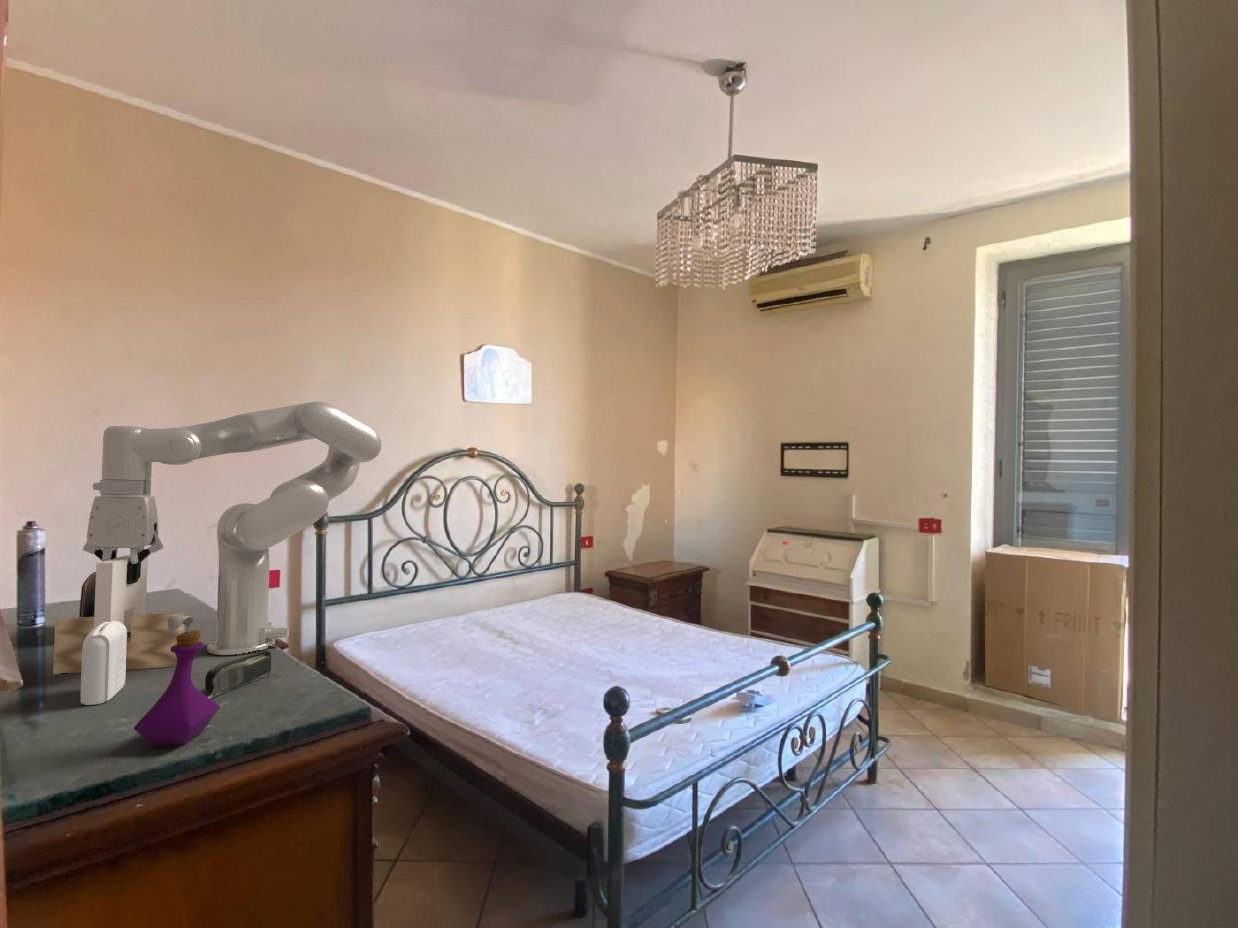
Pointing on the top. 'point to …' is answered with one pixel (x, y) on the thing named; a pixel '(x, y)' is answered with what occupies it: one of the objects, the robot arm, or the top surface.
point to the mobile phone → (237, 673)
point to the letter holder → (89, 598)
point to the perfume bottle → (179, 697)
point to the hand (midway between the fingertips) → (122, 582)
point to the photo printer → (103, 663)
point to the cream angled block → (119, 592)
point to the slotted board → (141, 650)
